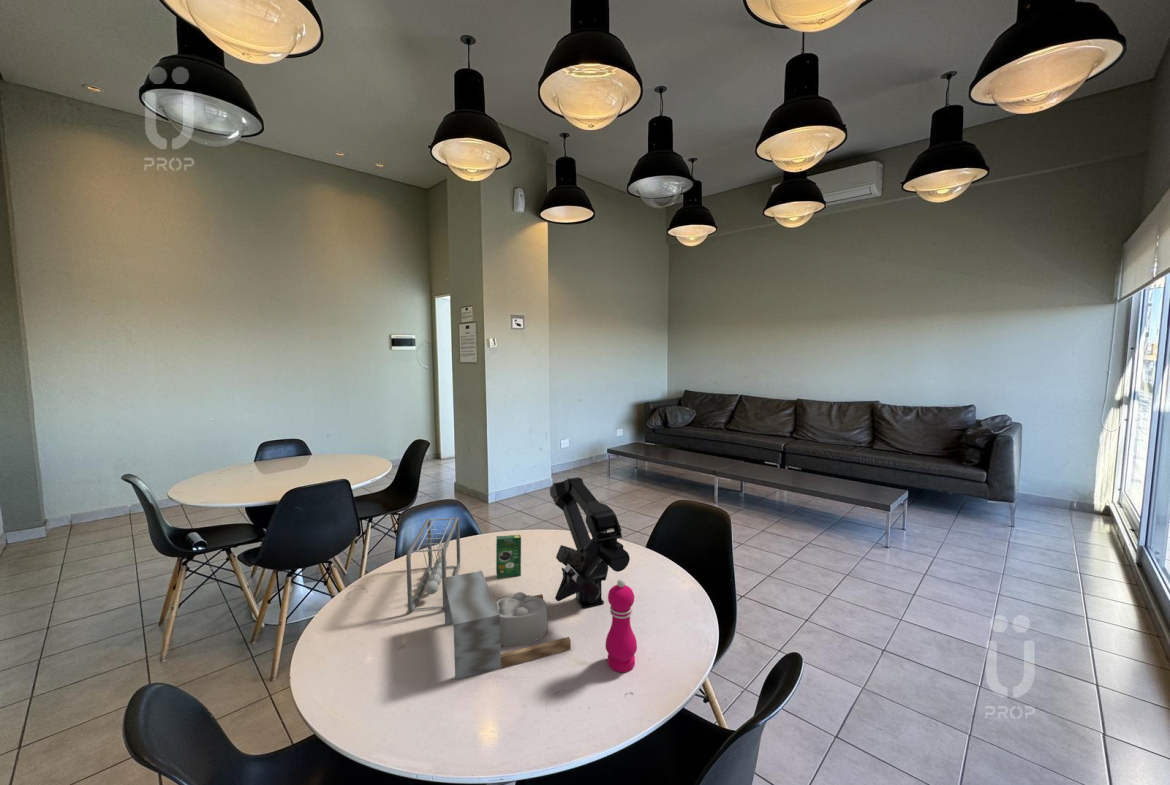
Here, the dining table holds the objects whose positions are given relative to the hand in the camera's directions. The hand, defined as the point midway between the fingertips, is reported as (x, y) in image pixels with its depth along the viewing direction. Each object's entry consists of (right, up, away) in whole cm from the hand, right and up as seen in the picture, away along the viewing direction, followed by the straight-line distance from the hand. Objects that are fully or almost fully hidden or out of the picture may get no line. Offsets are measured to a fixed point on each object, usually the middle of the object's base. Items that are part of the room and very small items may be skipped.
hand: (556, 600), depth 121 cm
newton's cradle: (-38, -6, +20) cm, 44 cm away
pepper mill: (+16, -8, -16) cm, 24 cm away
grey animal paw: (-9, -7, -3) cm, 12 cm away
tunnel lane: (-13, -7, -5) cm, 15 cm away
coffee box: (-17, -5, +28) cm, 33 cm away
